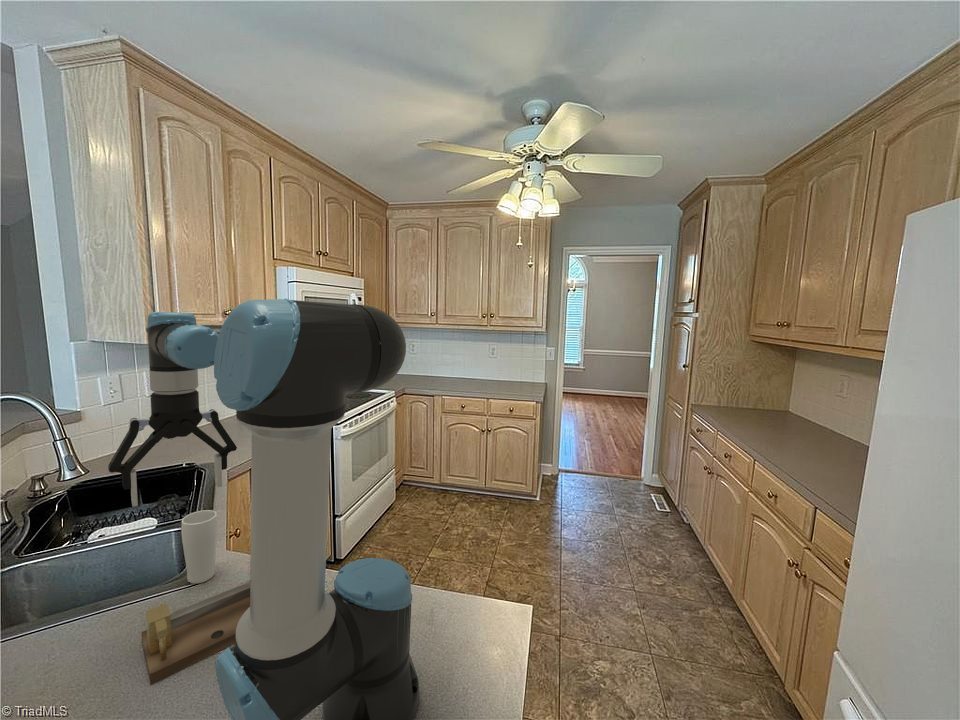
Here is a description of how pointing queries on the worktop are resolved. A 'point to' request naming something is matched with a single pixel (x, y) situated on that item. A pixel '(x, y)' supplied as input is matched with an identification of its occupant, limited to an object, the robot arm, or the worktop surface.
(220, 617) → the hole board
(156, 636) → the sliding leg
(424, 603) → the worktop surface
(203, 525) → the drinking glass
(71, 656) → the worktop surface
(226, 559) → the worktop surface
